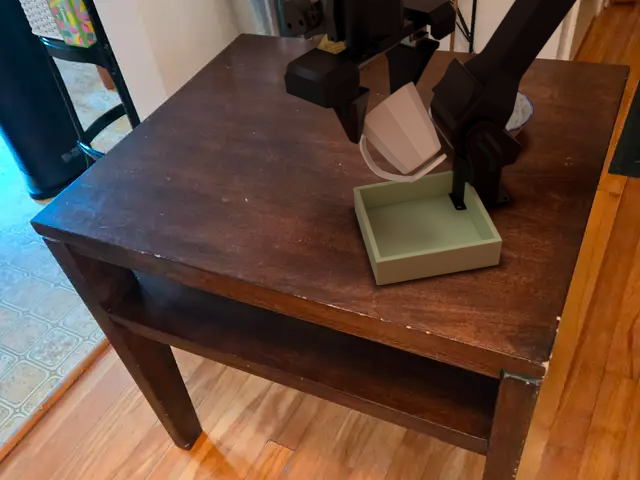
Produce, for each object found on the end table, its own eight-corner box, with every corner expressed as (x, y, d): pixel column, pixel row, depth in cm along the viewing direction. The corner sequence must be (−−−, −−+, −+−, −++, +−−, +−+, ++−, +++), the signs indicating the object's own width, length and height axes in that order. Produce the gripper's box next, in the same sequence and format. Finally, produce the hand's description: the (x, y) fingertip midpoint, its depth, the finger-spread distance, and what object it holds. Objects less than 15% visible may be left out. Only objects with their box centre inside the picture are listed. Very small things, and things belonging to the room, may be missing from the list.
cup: (432, 171, 56) (383, 99, 55) (372, 209, 65) (328, 147, 64) (470, 139, 60) (424, 71, 59) (408, 179, 69) (367, 120, 67)
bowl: (544, 127, 80) (550, 93, 77) (501, 178, 74) (506, 144, 70) (457, 105, 86) (459, 73, 83) (410, 150, 80) (410, 117, 76)
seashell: (340, 100, 99) (368, 68, 92) (304, 78, 96) (330, 42, 90) (348, 62, 103) (375, 29, 97) (313, 40, 101) (339, 4, 95)
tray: (498, 264, 64) (502, 240, 61) (377, 285, 64) (376, 262, 61) (461, 191, 73) (463, 168, 70) (355, 210, 73) (353, 187, 70)
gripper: (370, -80, 60) (375, 71, 71) (228, -15, 52) (260, 143, 63) (464, -65, 54) (454, 97, 65) (320, 11, 46) (338, 180, 57)
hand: (376, 126), depth 63 cm, fingers closed on cup, 6 cm apart
